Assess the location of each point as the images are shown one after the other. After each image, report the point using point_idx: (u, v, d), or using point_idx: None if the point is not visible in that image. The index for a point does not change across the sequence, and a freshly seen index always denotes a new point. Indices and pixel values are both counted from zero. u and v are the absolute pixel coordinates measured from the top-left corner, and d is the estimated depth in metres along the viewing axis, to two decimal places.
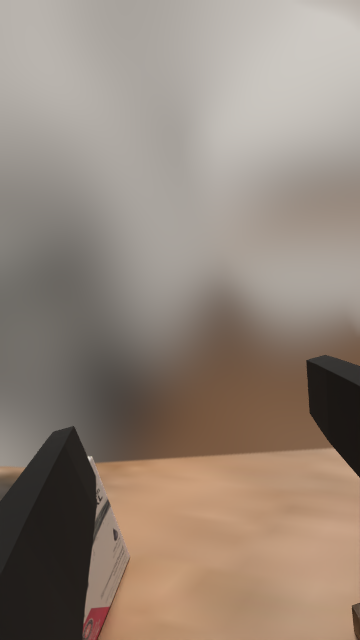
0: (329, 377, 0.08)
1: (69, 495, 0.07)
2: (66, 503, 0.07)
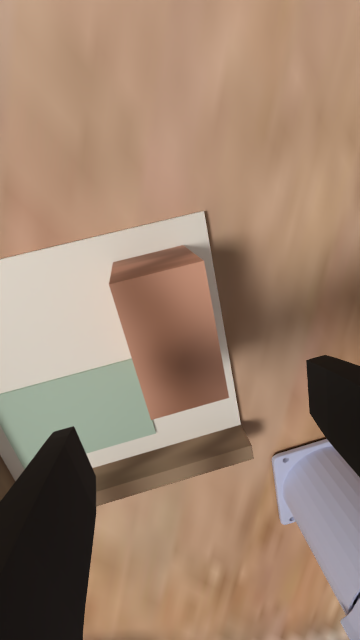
0: (329, 377, 0.08)
1: (69, 495, 0.07)
2: (66, 503, 0.07)
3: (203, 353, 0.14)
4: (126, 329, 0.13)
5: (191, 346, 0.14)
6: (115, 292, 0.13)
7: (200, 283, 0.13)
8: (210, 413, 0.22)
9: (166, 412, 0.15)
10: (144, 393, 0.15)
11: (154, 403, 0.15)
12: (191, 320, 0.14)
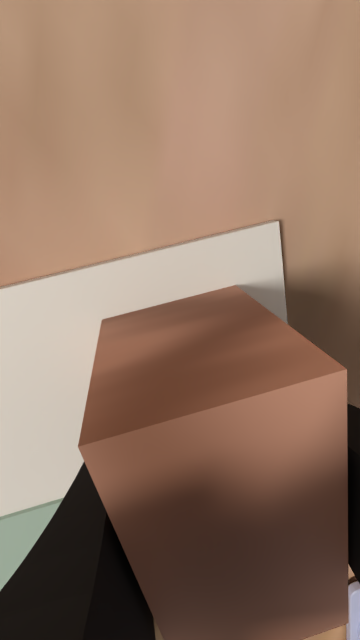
0: None
1: None
2: None
3: (310, 560, 0.06)
4: (129, 539, 0.05)
5: (284, 551, 0.06)
6: (98, 463, 0.04)
7: (328, 423, 0.05)
8: None
9: None
10: None
11: None
12: (292, 502, 0.05)
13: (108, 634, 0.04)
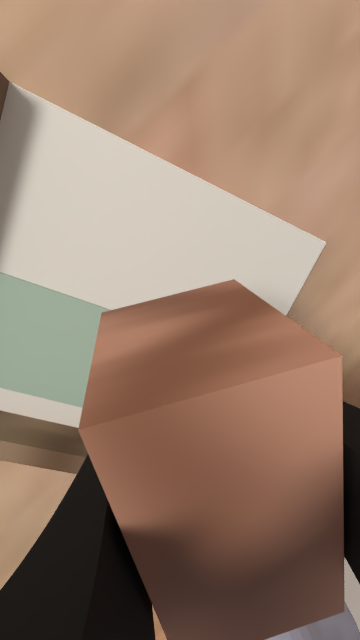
0: None
1: None
2: None
3: (307, 548, 0.06)
4: (128, 524, 0.05)
5: (280, 538, 0.06)
6: (97, 446, 0.05)
7: (323, 409, 0.05)
8: None
9: None
10: (168, 631, 0.06)
11: None
12: (288, 488, 0.06)
13: (109, 633, 0.04)
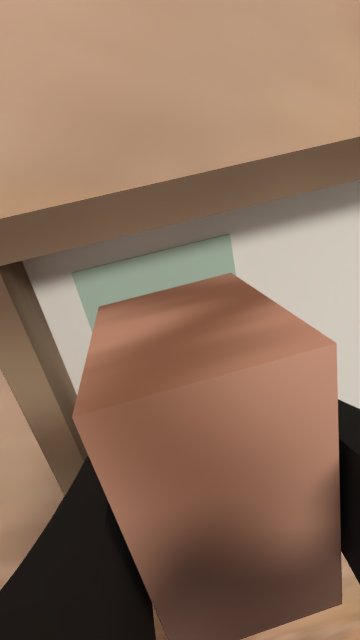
0: None
1: None
2: None
3: (303, 538, 0.06)
4: (123, 513, 0.05)
5: (276, 528, 0.06)
6: (92, 434, 0.05)
7: (318, 397, 0.05)
8: None
9: None
10: (165, 622, 0.06)
11: (186, 635, 0.07)
12: (284, 478, 0.06)
13: (109, 635, 0.04)
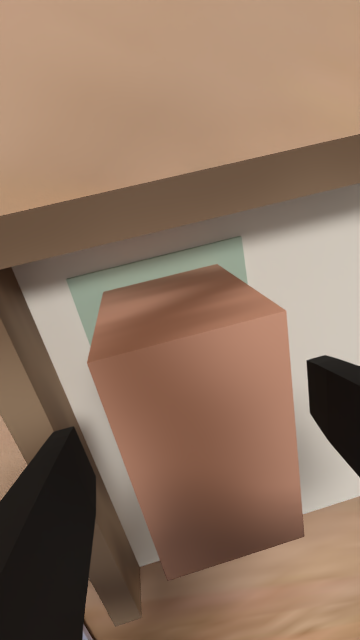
0: (329, 377, 0.08)
1: (69, 495, 0.07)
2: (66, 503, 0.07)
3: (268, 474, 0.08)
4: (124, 443, 0.07)
5: (246, 463, 0.07)
6: (101, 377, 0.06)
7: (274, 354, 0.07)
8: None
9: (195, 567, 0.09)
10: (157, 543, 0.08)
11: (174, 557, 0.08)
12: (250, 420, 0.07)
13: None
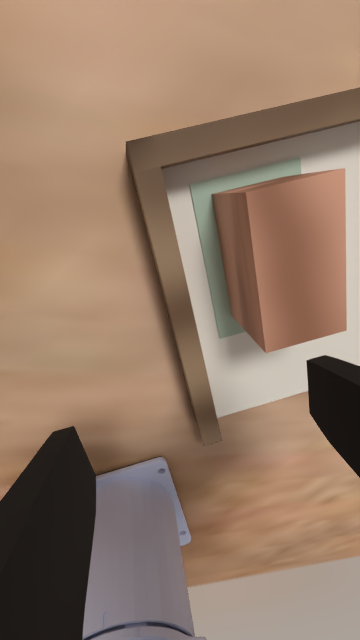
0: (329, 377, 0.08)
1: (69, 495, 0.07)
2: (66, 503, 0.07)
3: (329, 278, 0.14)
4: (256, 246, 0.12)
5: (317, 268, 0.13)
6: (251, 202, 0.12)
7: (337, 195, 0.12)
8: (232, 388, 0.21)
9: (282, 345, 0.14)
10: (263, 322, 0.14)
11: (271, 334, 0.14)
12: (322, 238, 0.13)
13: None
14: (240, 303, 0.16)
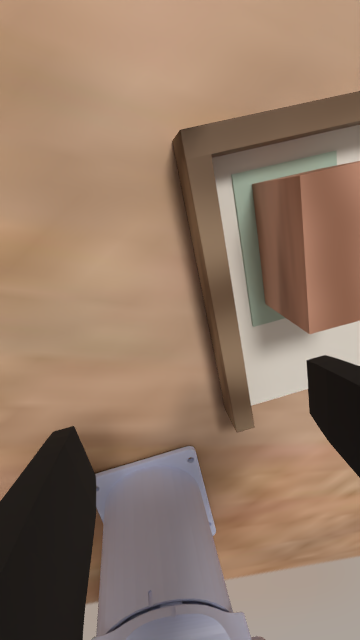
0: (329, 377, 0.08)
1: (69, 495, 0.07)
2: (66, 503, 0.07)
3: None
4: (306, 228, 0.13)
5: None
6: (304, 185, 0.12)
7: None
8: (262, 377, 0.22)
9: (325, 326, 0.15)
10: (309, 303, 0.14)
11: (316, 315, 0.15)
12: None
13: None
14: (279, 289, 0.17)
